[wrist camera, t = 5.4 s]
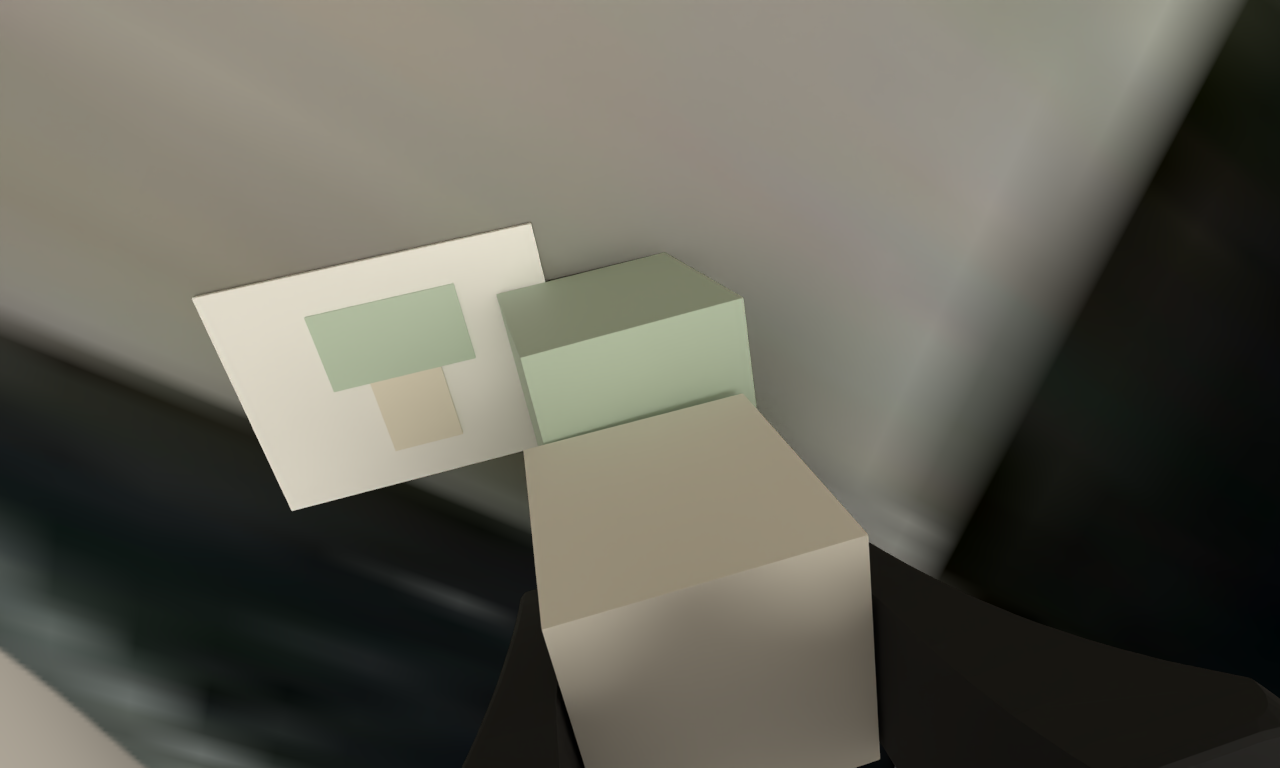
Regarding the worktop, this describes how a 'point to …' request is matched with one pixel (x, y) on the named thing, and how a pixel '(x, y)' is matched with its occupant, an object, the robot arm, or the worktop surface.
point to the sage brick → (625, 345)
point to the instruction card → (380, 364)
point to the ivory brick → (703, 596)
